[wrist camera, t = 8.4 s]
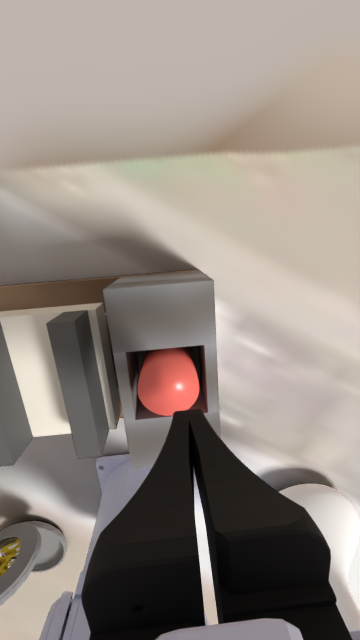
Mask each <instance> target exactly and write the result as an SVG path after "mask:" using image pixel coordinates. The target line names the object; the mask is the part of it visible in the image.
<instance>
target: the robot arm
mask: <svg viewBox="0 0 360 640" xmlns="http://www.w3.org/2000/svg"><path fill="white" fill-rule="evenodd" d="M101 466H103V467H101ZM193 466H194V471H195V476H196V480H197V485H198V490H199V494H200V499H201V503H202V508H203V513H204V518H205V524H206V531H207V539H208V546H209V554H210V561H211V569H212V577H213V584H214V592H215V600H216V608H217V616H218V623H219V624H216V625H210V623H209V621H208V620H207V618H206V615H205V613H204V605H203V595H202V585H201V575H200V564H199V554H198V545H197V535H196V525H195V514H194V471H193ZM96 469H97V474H98V478H99V483H100V488H101V493H102V499H101V503H100V507H99V510H98V514H97V518H96V522H95V526H94V530H93V534H92V538H91V542H90V546H89V550H88V554H87V557H86V561H85V565H84V569H83V571H82V572H81V573H80V577H79V581H78V584H77V588H76V592H75V596H74V599H72V595H73V592H69V591H65V592H64V593H63V594H62V596H61V598H59V599H58V600H56V601H55V602H54V603H53V604H52V606H51V608H50V611H49V613H48V616H47V618H46V621H45V624H44V627H43V630H42V633H41V636H40V639H39V640H360V630H357V631H348V629H347V627H346V624H345V622H344V620H343V618H342V616H341V614H340V612H339V610H338V607H337V605H336V602H337V598H336V595H335V593H334V591H333V589H332V587H331V585H330V583H329V572H330V563H331V550H330V548H329V546H328V544H327V542H326V540H325V538H324V536H323V534H322V532H321V531H320V529H319V528H318V526H317V525H316V523H315V522H314V520H313V519H312V517H311V516H310V515H309V513H308V512H307V510H306V509H305V508H304V507H302V506H301V505H299V504H297V503H296V502H294V501H292V500H291V499H289V498H287V497H286V496H284V495H282V494H281V493H279V492H278V491H276V490H275V489H274V488H272V487H271V486H269V485H268V484H267V483H266V482H264V481H263V480H262V479H261V478H259V477H258V476H257V475H255V474H254V473H253V472H252V471H251V470H250V469H249V468H247V467H246V466H245V465H244V464H243V463H242V462H241V461H240V460H239V459H238V458H237V457H236V456H235V455H234V454H233V453H232V452H231V451H230V449H229V448H228V447H227V446H226V445H225V444H224V442H223V441H222V440H221V439H220V437H219V436H218V435H217V433H216V432H215V431H214V429H213V428H212V426H211V425H210V423H209V422H208V420H207V418H206V417H205V415H204V413H203V411H202V410H201V409H192V410H183V411H175V412H174V413H173V419H172V423H171V426H170V429H169V432H168V435H167V437H166V440H165V443H164V445H163V447H162V449H161V451H160V453H159V456H158V458H157V459H156V461H155V463H154V465H153V466H149V467H139V468H132V467H131V461H130V455H129V454H124V455H114V456H104V457H99V458H97V460H96ZM69 612H70V613H69Z"/></svg>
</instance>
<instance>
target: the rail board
mask: <svg viewBox="0 0 360 640" xmlns="http://www.w3.org/2000/svg"><path fill="white" fill-rule="evenodd" d="M92 303H103V306H104V313H105V319H106V325H107V331H108V337H109V343H110V349H111V355H112V361H113V367H114V373H115V379H116V385H117V391H118V398H119V404H120V410H121V413H120V417H119V418H124V424H125V430H126V436H127V442H128V448H129V455H130V461H131V467H132V468H139V467H149V466H153V465H154V463H155V461H156V459H157V458H158V456H159V453H160V451H161V449H162V447H163V445H164V443H165V440H166V437H167V435H168V432H169V429H170V426H171V423H172V419H173V415H172V416H164V415H159V414H156V413H153V412H152V411H150V410H148V409H147V408H146V407H145V406H144V405H143V404H142V402H141V400H140V398H139V396H138V389H137V388H138V381H139V376H140V372H141V367H142V362H143V357H144V353H145V350H155V349H166V348H176V347H187V346H188V347H189V348H190V350H191V352H192V356H193V360H194V364H195V368H196V373H197V377H198V381H199V394H198V397H197V399H196V401H195V403H194V404H193V405H192V406H191V407H190V408H189V409H188V410H192V409H201V410H202V411H203V413H204V415H205V417H206V418H207V420H208V422H209V423H210V425H211V426H212V428H213V429H214V431H215V432H216V433H217V435H218V436H219V437H220V420H219V396H218V372H217V348H216V324H215V299H214V280H213V279H211V278H210V277H208V276H207V275H206V274H204V273H203V272H202V271H200V270H199V269H194V270H182V271H170V272H158V273H146V274H134V275H123V276H111V277H99V278H87V279H75V280H63V281H51V282H39V283H27V284H16V285H4V286H0V311H12V310H23V309H35V308H46V307H58V306H69V305H81V304H92Z"/></svg>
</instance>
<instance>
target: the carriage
mask: <svg viewBox="0 0 360 640" xmlns="http://www.w3.org/2000/svg"><path fill="white" fill-rule="evenodd" d="M120 413H121V410H120V404H119V398H118V391H117V385H116V379H115V373H114V367H113V361H112V355H111V349H110V343H109V337H108V331H107V325H106V319H105V313H104V306H103V303H92V304H81V305H69V306H58V307H46V308H35V309H23V310H12V311H0V467H1V466H11V465H14V464H15V462H16V461H17V460H18V458H19V457H20V455H21V454H22V452H23V451H24V449H25V448H26V447H27V445H28V444H29V442H30V441H31V439H32V438H33V437H39V436H49V435H59V434H69V433H72V438H73V442H74V446H75V450H76V455H77V459H79V458H89V457H98V456H101V455H102V452H103V449H104V445H105V442H106V439H107V436H108V432H109V429H116V428H117V424H118V421H119V417H120Z"/></svg>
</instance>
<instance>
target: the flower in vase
mask: <svg viewBox="0 0 360 640" xmlns="http://www.w3.org/2000/svg"><path fill="white" fill-rule="evenodd" d="M279 493H281V494H282V495H284V496H286V497H287V498H289V499H291V500H292V501H294V502H296V503H297V504H299V505H301V506H302V507H304V508H305V509H306V510H307V512H308V513H309V515H310V516H311V517H312V519H313V520H314V522H315V523H316V525H317V526H318V528H319V529H320V531H321V532H322V534H323V536H324V538H325V540H326V542H327V544H328V546H329V548H330V550H331V563H330V572H329V583H330V585H331V587H332V589H333V591H334V593H335V595H336V598H337V602H336V605H337V607H338V610H339V612H340V614H341V616H342V618H343V620H344V622H345V624H346V627H347V629H348V631H357V630H360V611H359V609H358V607H357V605H356V603H355V601H354V599H353V596H352V594H351V591H350V588H349V584H348V571H349V567H350V564H351V562H352V559H353V556H354V553H355V550H356V547H357V544H358V539H359V532H360V521H359V517H358V514H357V511H356V508H355V506H354V504H353V502H352V501H351V500H350V499H349V498H348V497H347V496H346V495H345V494H343V493H342V492H340V491H338V490H336V489H334V488H331V487H329V486H326V485H322V484H299V485H295V486H291V487H288V488H286V489H283V490H281V491H279Z"/></svg>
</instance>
